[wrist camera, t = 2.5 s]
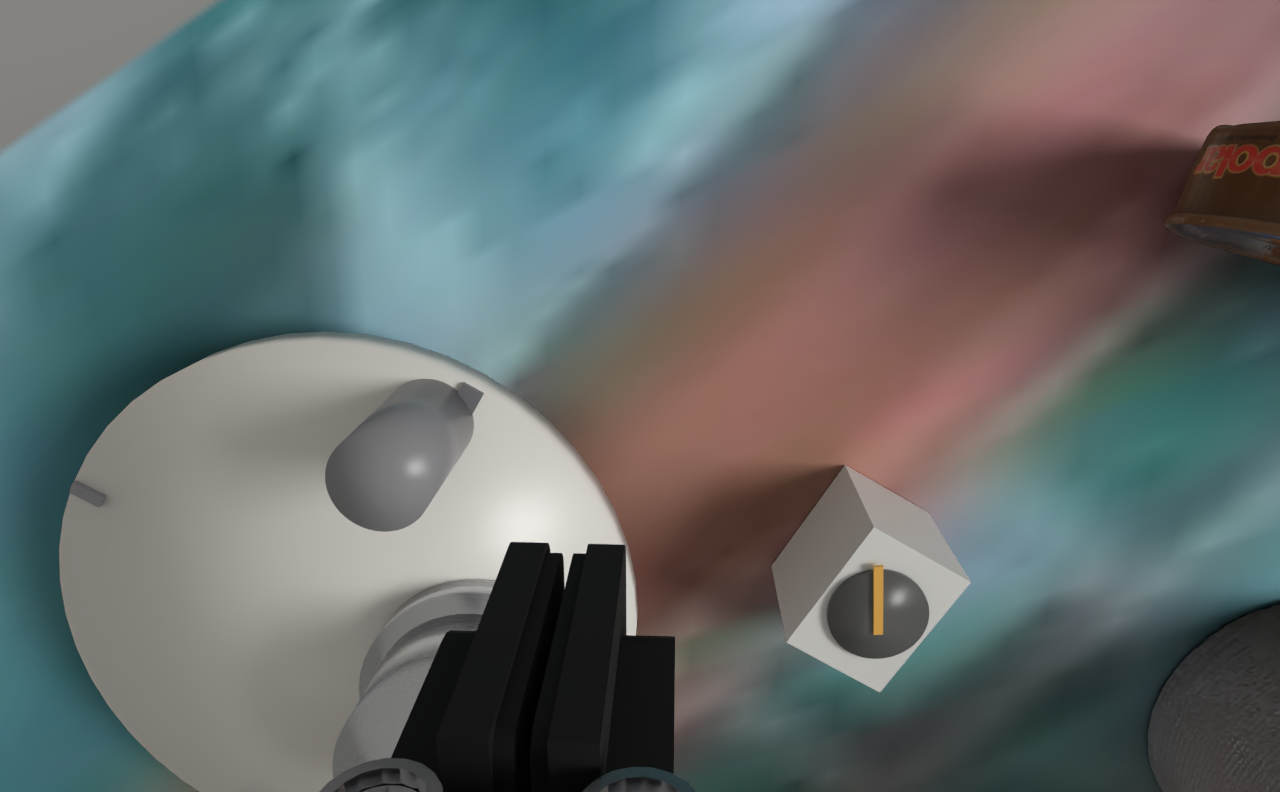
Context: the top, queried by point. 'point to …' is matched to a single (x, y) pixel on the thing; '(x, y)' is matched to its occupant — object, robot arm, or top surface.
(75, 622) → the white disc with knobs
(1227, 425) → the top surface
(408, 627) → the door knob
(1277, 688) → the pillar candle
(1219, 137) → the tin
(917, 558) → the dial gauge
